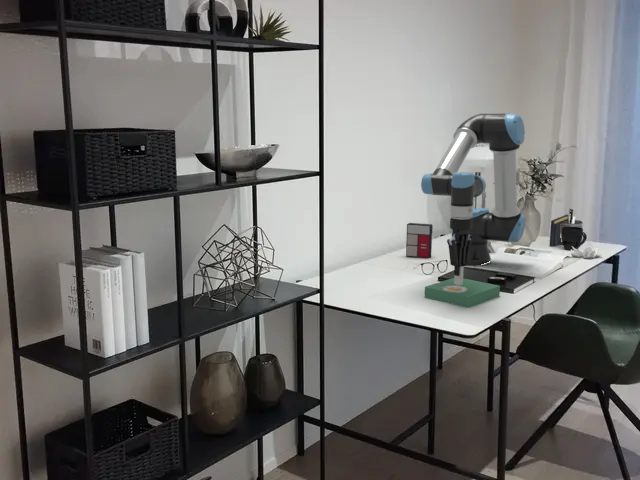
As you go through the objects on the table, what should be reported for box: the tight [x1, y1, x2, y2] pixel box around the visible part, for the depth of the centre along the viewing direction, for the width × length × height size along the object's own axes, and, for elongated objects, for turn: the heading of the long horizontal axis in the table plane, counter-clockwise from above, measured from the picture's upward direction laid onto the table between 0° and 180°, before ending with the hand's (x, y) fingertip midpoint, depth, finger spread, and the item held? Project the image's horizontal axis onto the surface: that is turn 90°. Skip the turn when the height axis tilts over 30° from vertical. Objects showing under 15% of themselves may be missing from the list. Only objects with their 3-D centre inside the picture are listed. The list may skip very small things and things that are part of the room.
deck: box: [424, 277, 501, 308], centre depth 235 cm, size 18×20×4 cm
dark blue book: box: [549, 214, 569, 248], centre depth 319 cm, size 20×2×15 cm, turn 139°
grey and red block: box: [405, 222, 433, 259], centre depth 299 cm, size 11×4×15 cm, turn 67°
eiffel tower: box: [480, 190, 496, 254], centre depth 306 cm, size 13×13×30 cm
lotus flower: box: [570, 242, 602, 259], centre depth 290 cm, size 14×15×9 cm
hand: (458, 284), depth 232 cm, fingers closed
